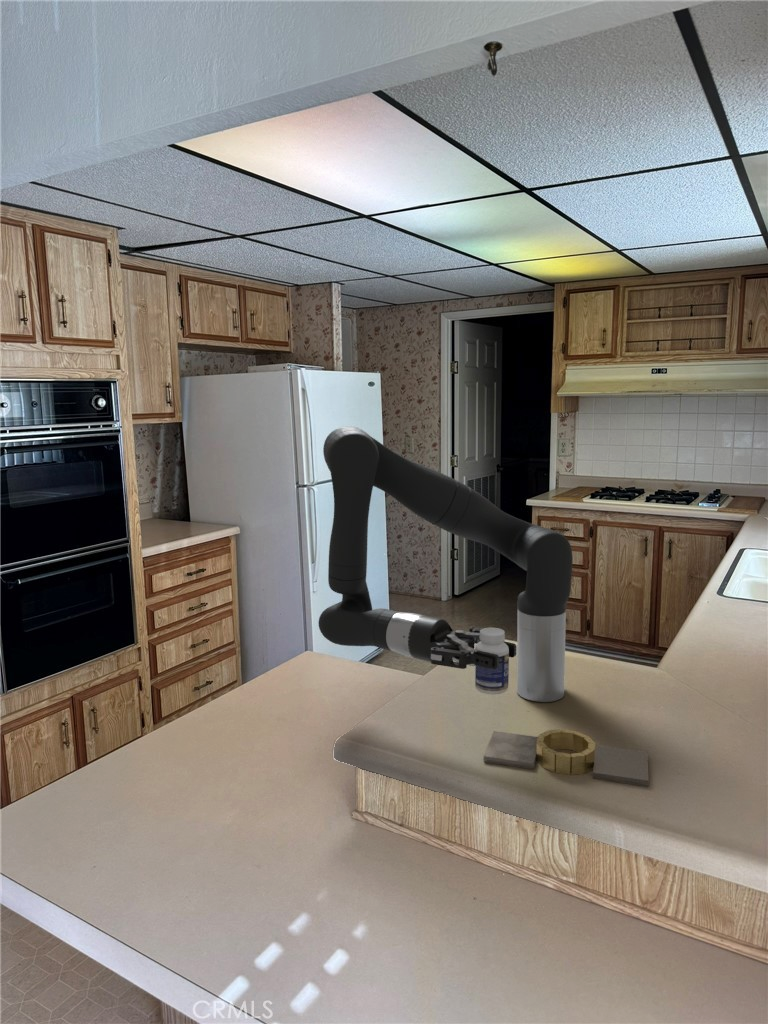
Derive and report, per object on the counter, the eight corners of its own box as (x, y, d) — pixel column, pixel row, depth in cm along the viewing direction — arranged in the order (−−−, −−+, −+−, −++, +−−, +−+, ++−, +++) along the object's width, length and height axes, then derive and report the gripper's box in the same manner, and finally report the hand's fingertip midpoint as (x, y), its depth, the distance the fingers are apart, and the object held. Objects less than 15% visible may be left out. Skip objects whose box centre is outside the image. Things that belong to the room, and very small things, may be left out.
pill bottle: (511, 695, 110) (511, 636, 109) (477, 695, 110) (477, 637, 109) (505, 681, 116) (506, 625, 114) (473, 681, 116) (473, 625, 114)
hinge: (493, 736, 121) (493, 720, 121) (647, 757, 113) (647, 740, 112) (483, 761, 113) (483, 744, 112) (648, 786, 104) (649, 768, 104)
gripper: (394, 626, 114) (485, 647, 104) (440, 605, 126) (527, 621, 116) (394, 670, 115) (485, 694, 105) (440, 645, 127) (526, 664, 117)
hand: (506, 656), depth 111 cm, fingers closed on pill bottle, 5 cm apart
